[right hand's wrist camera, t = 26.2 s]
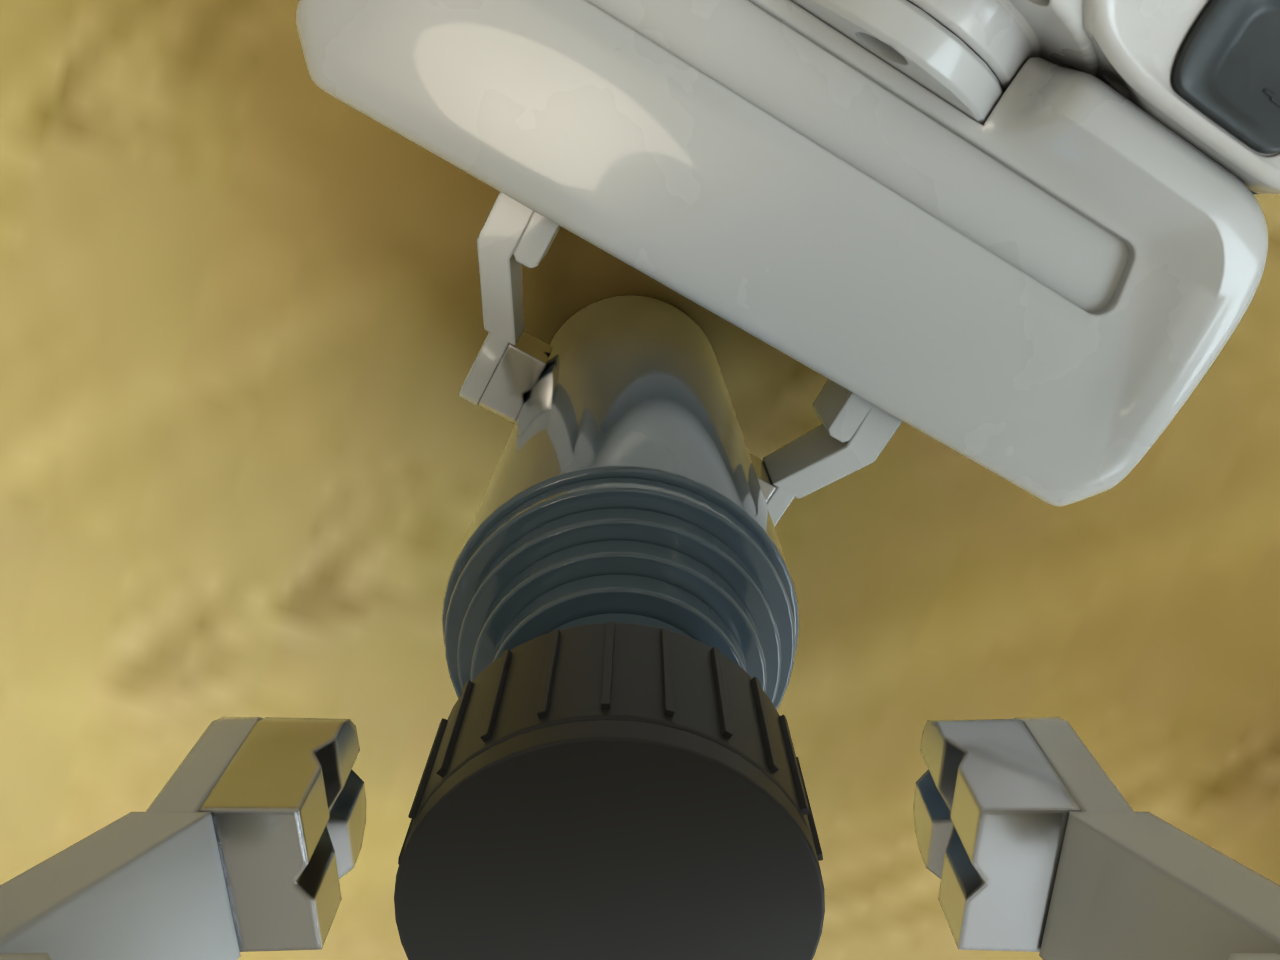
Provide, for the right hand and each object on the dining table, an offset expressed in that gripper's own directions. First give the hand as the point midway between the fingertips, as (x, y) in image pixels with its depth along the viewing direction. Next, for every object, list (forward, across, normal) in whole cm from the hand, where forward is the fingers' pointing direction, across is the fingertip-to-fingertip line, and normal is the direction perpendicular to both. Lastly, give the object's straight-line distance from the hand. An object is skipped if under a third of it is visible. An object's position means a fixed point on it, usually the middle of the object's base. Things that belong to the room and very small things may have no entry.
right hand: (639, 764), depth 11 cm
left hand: (+12, -1, -1) cm, 12 cm away
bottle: (+17, 0, 0) cm, 17 cm away
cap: (-2, 0, 0) cm, 2 cm away
